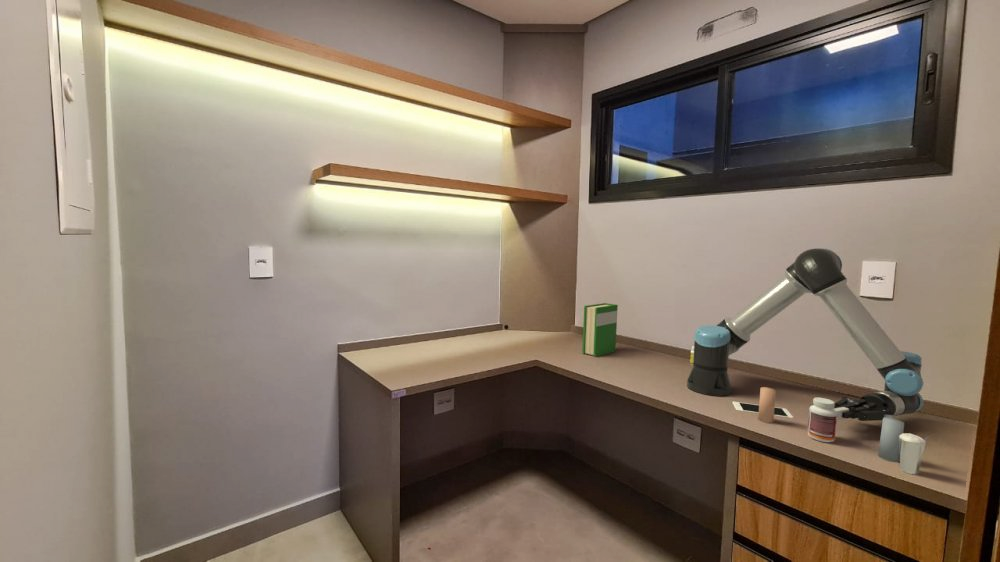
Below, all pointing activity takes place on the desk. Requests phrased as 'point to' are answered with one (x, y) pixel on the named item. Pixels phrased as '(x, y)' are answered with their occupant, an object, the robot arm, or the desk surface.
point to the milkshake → (911, 452)
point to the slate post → (890, 439)
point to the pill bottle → (822, 420)
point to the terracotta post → (766, 404)
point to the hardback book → (599, 329)
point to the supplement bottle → (692, 356)
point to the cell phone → (755, 409)
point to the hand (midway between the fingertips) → (831, 415)
